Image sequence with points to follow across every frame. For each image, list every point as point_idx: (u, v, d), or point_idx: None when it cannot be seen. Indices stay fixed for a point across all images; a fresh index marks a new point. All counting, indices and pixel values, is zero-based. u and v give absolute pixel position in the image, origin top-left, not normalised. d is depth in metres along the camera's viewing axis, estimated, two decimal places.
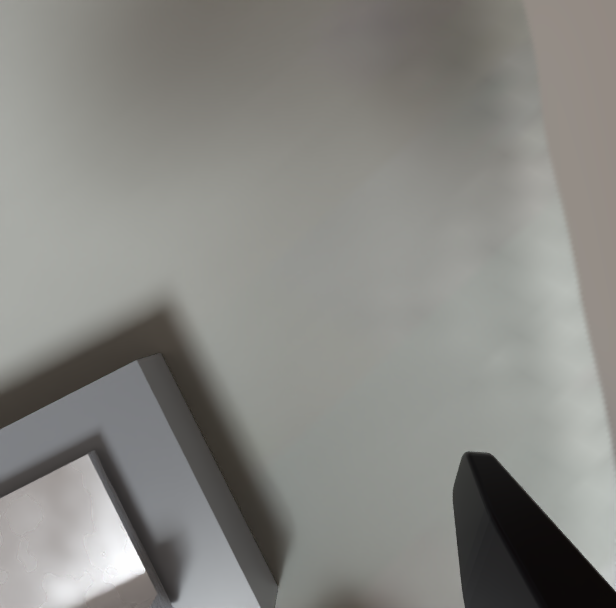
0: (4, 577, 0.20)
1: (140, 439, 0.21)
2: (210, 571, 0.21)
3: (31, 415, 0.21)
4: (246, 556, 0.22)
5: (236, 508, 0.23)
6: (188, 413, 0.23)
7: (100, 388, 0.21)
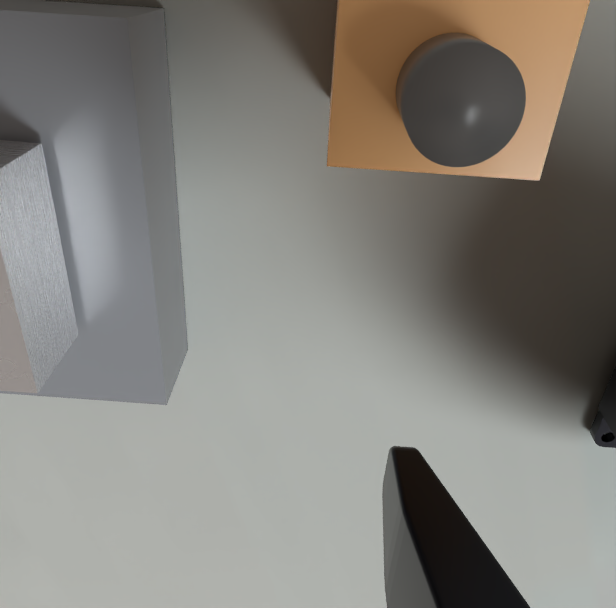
0: None
1: None
2: (8, 62, 0.13)
3: None
4: (42, 7, 0.13)
5: None
6: None
7: None
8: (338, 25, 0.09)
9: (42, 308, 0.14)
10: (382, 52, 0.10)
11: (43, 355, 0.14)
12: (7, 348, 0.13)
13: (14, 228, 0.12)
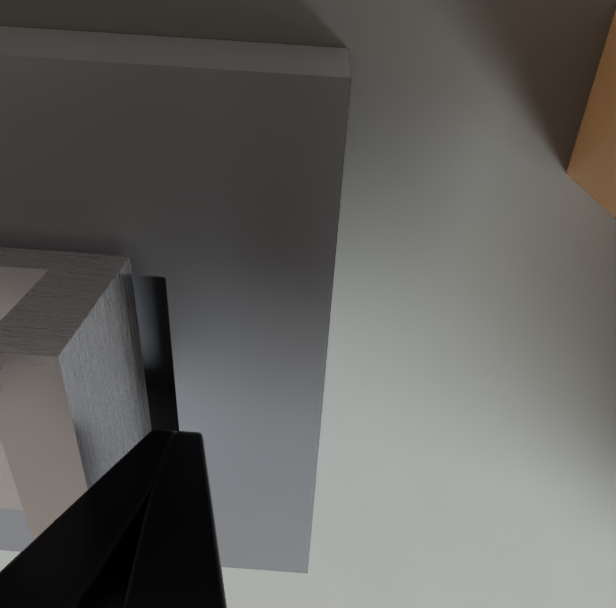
0: None
1: None
2: (147, 143, 0.08)
3: None
4: (193, 54, 0.08)
5: (132, 36, 0.10)
6: None
7: None
8: None
9: None
10: None
11: None
12: None
13: (96, 405, 0.08)
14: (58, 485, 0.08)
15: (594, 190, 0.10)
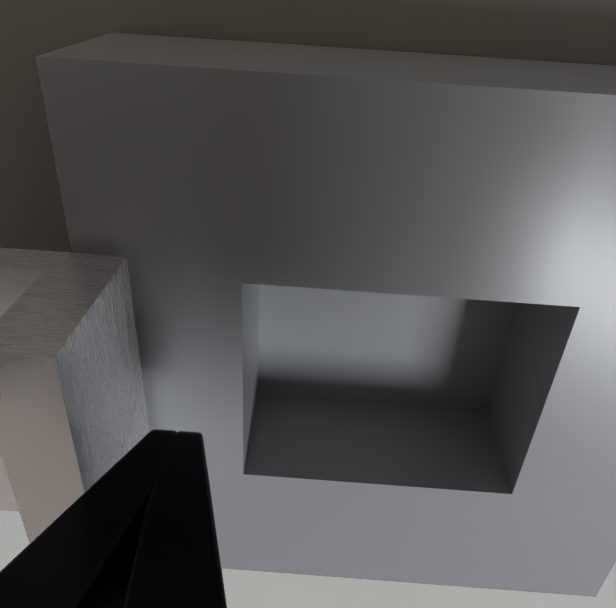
0: None
1: (236, 158, 0.08)
2: None
3: None
4: None
5: (519, 61, 0.10)
6: (264, 44, 0.10)
7: (79, 179, 0.08)
8: None
9: None
10: None
11: None
12: None
13: (93, 407, 0.08)
14: (54, 487, 0.08)
15: None
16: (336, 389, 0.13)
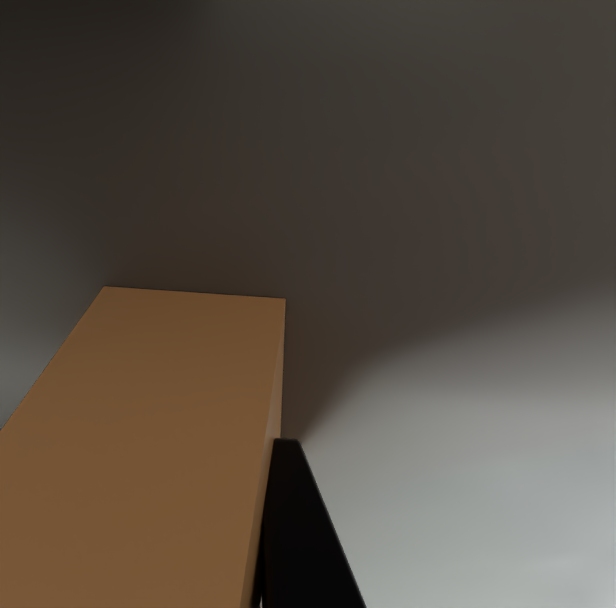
0: None
1: None
2: None
3: None
4: None
5: None
6: None
7: None
8: None
9: None
10: None
11: None
12: None
13: None
14: None
15: (79, 332, 0.08)
16: None
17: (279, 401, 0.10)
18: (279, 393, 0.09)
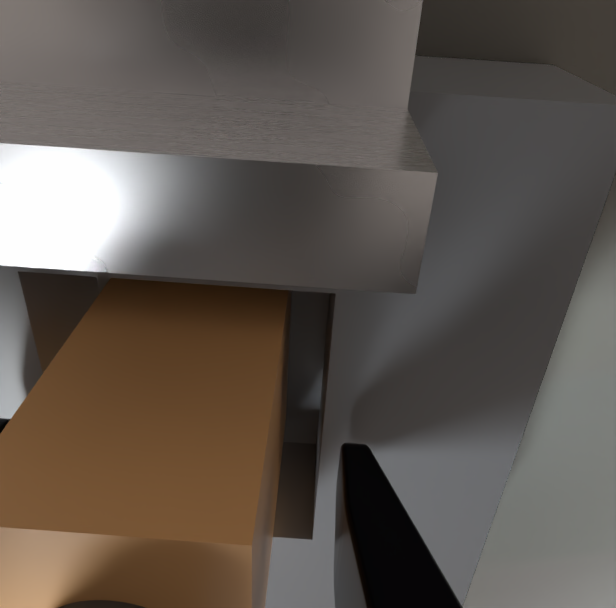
0: None
1: (481, 298, 0.08)
2: (426, 544, 0.11)
3: None
4: None
5: None
6: None
7: (486, 126, 0.07)
8: (187, 543, 0.05)
9: None
10: (156, 587, 0.06)
11: None
12: None
13: None
14: (134, 230, 0.04)
15: (115, 282, 0.09)
16: None
17: (287, 350, 0.11)
18: (287, 342, 0.11)
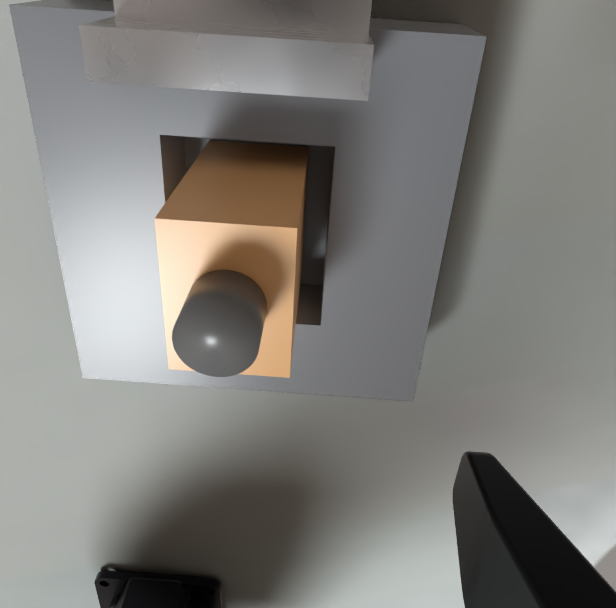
0: None
1: (415, 149, 0.14)
2: (392, 328, 0.17)
3: None
4: None
5: None
6: None
7: (411, 47, 0.13)
8: (268, 227, 0.12)
9: None
10: (250, 259, 0.12)
11: None
12: (153, 62, 0.11)
13: None
14: (254, 71, 0.11)
15: (204, 153, 0.16)
16: None
17: None
18: (305, 200, 0.17)
